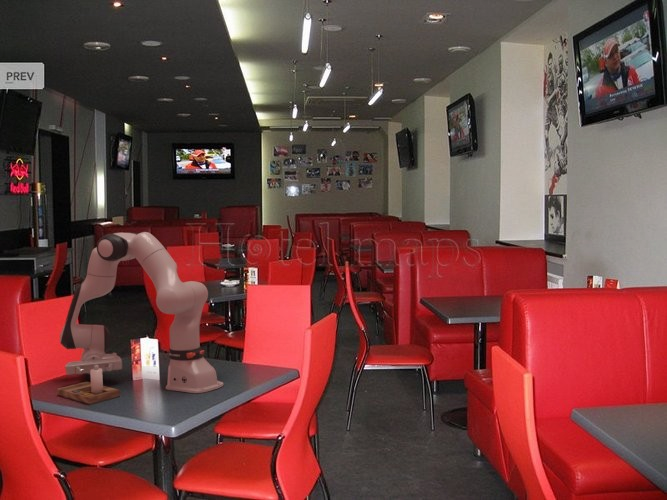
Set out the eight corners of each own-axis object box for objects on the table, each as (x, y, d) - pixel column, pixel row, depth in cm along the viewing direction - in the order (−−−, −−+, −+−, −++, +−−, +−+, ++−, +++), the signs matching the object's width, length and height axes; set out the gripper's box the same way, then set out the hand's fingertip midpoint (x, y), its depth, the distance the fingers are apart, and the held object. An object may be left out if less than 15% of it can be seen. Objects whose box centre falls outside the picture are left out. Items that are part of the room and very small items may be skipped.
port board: (119, 396, 240) (119, 388, 240) (89, 404, 230) (89, 396, 230) (87, 388, 253) (86, 380, 253) (57, 395, 243) (56, 387, 243)
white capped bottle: (102, 395, 240) (101, 363, 240) (103, 398, 237) (102, 366, 236) (91, 396, 239) (89, 364, 238) (91, 399, 235) (90, 367, 235)
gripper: (64, 357, 257) (64, 365, 244) (120, 352, 264) (122, 359, 251) (65, 373, 257) (65, 382, 244) (120, 367, 265) (123, 375, 252)
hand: (95, 370), depth 248 cm, fingers open, 8 cm apart
